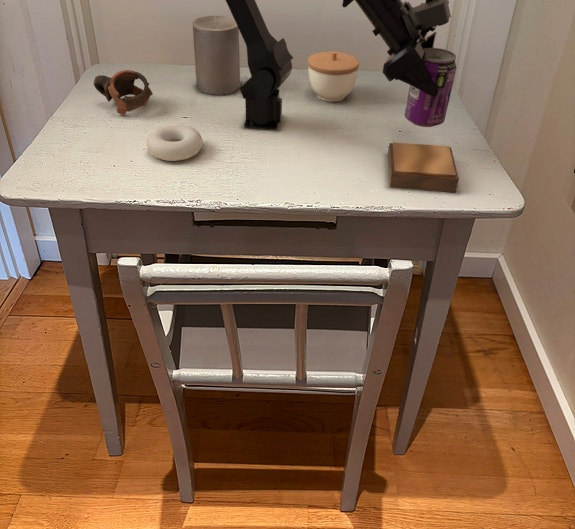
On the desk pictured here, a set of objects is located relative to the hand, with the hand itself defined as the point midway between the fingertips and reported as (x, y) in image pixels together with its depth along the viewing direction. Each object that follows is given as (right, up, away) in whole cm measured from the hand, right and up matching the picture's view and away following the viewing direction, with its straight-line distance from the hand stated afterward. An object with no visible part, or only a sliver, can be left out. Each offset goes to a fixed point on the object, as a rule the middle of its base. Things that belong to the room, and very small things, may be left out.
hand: (439, 87), depth 97 cm
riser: (-3, -14, +2) cm, 15 cm away
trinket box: (-17, +6, +26) cm, 32 cm away
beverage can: (-1, -5, +5) cm, 7 cm away
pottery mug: (-60, +2, +20) cm, 63 cm away
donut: (-46, -10, +6) cm, 48 cm away
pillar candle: (-41, +9, +29) cm, 51 cm away
